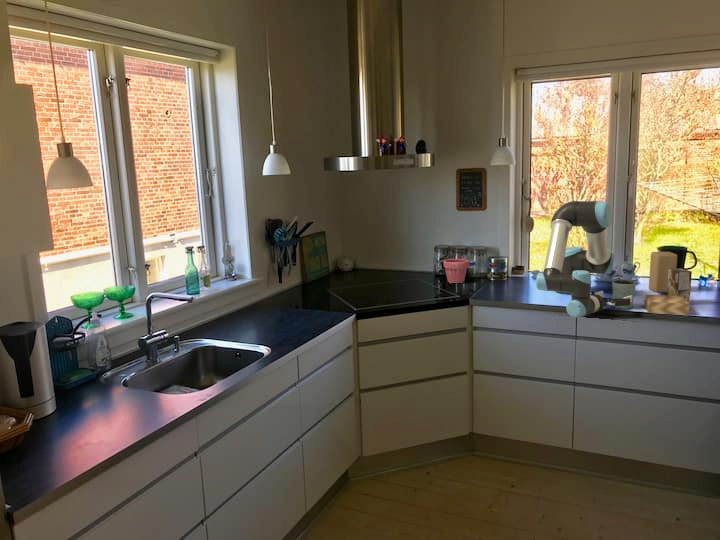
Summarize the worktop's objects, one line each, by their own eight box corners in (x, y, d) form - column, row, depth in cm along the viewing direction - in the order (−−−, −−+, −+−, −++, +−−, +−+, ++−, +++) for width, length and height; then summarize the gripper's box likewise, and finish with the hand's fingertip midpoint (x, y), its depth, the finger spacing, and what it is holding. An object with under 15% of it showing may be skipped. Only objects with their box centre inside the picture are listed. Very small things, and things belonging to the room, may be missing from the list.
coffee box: (690, 304, 282) (692, 271, 279) (677, 305, 282) (679, 271, 279) (678, 300, 291) (680, 267, 288) (665, 301, 291) (668, 268, 288)
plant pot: (444, 279, 354) (444, 258, 352) (468, 280, 352) (468, 258, 349) (442, 284, 341) (442, 262, 338) (467, 285, 338) (468, 262, 336)
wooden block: (667, 289, 317) (670, 251, 314) (675, 293, 307) (678, 254, 304) (647, 289, 318) (650, 251, 315) (655, 293, 308) (657, 254, 305)
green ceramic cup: (626, 304, 286) (628, 279, 284) (639, 309, 277) (640, 283, 274) (606, 305, 285) (608, 280, 283) (618, 310, 275) (619, 284, 273)
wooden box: (648, 312, 269) (648, 301, 268) (644, 304, 284) (645, 294, 283) (688, 315, 264) (689, 303, 263) (682, 306, 279) (683, 295, 278)
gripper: (566, 307, 272) (590, 299, 285) (619, 317, 253) (643, 308, 266) (566, 291, 271) (591, 284, 284) (620, 299, 252) (644, 292, 265)
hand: (616, 296), depth 275 cm, fingers open, 13 cm apart
